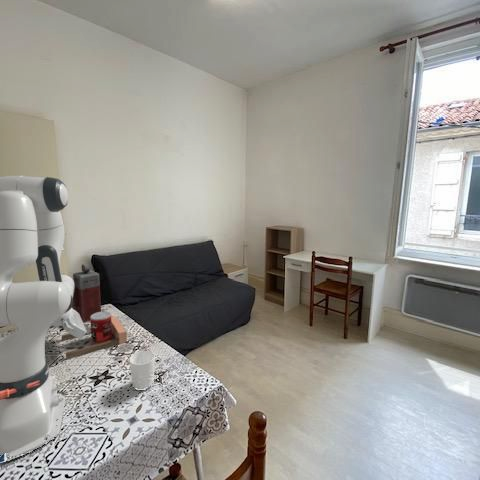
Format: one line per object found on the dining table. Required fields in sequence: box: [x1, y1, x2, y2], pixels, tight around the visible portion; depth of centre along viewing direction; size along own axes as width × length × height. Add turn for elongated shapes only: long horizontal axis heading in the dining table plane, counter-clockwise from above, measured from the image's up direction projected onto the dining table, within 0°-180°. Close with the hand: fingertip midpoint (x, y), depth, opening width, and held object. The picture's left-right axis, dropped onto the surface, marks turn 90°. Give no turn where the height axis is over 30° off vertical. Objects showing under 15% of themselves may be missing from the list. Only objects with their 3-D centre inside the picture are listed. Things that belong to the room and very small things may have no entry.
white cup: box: [129, 350, 156, 389], centre depth 90 cm, size 8×8×10 cm
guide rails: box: [61, 327, 120, 360], centre depth 115 cm, size 18×19×2 cm
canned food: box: [89, 311, 113, 344], centre depth 117 cm, size 8×8×11 cm
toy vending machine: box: [72, 263, 102, 324], centre depth 135 cm, size 9×11×28 cm
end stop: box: [111, 315, 128, 345], centre depth 122 cm, size 18×3×5 cm, turn 38°
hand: (89, 331), depth 115 cm, fingers closed, pressing on canned food
